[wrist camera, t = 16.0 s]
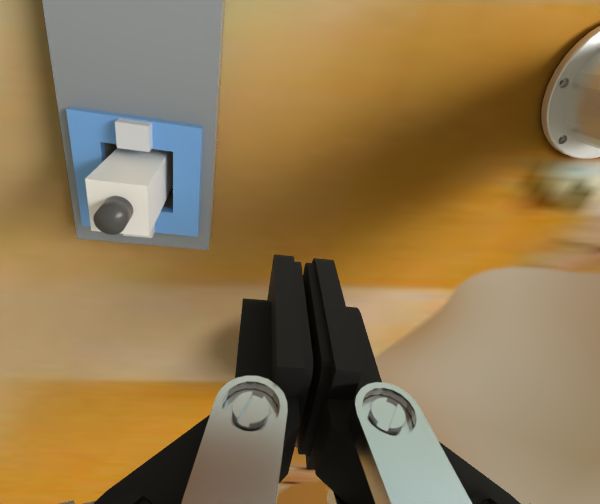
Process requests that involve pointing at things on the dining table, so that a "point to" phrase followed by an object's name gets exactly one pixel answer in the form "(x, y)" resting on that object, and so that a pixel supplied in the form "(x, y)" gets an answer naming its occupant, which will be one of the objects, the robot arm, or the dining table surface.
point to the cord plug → (129, 191)
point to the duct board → (140, 101)
